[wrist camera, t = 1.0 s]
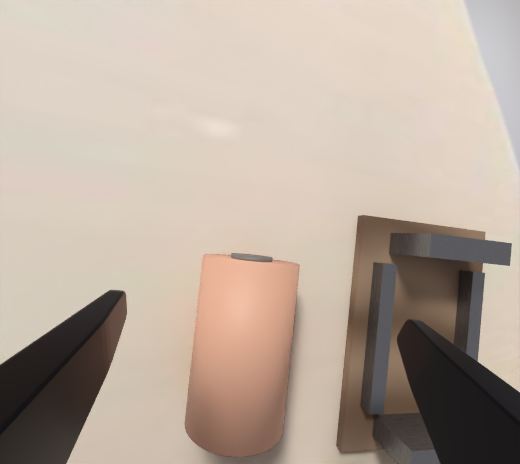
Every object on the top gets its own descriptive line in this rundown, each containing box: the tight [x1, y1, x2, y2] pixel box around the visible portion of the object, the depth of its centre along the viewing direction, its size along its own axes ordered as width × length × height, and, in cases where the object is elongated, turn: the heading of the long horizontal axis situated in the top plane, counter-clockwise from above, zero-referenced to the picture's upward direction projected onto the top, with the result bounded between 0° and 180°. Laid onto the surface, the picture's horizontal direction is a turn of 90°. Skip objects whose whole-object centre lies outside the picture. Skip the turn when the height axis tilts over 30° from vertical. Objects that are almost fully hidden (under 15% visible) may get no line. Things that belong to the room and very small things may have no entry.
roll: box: [185, 253, 300, 457], centre depth 19 cm, size 10×6×6 cm, turn 174°
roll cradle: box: [337, 215, 512, 464], centre depth 23 cm, size 18×12×5 cm, turn 174°
